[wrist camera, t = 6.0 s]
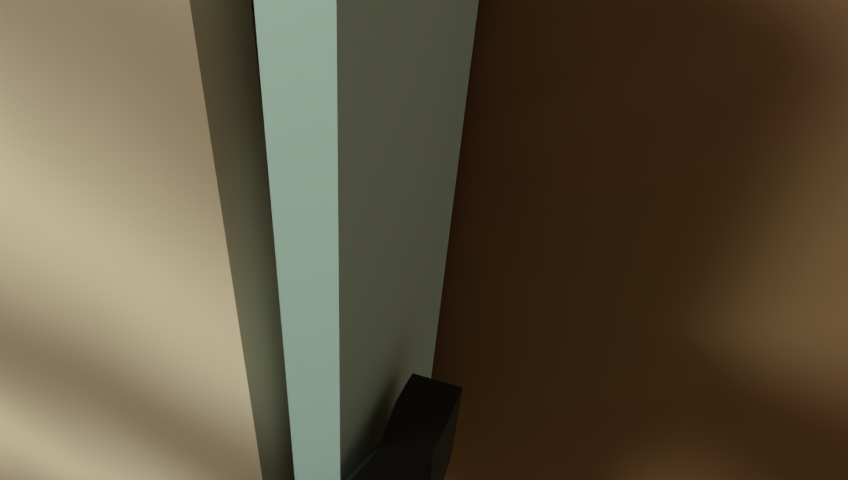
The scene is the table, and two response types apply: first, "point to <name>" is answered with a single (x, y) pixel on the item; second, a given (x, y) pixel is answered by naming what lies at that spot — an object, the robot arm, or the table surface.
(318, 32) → the door
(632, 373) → the table surface
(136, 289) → the cabinet
